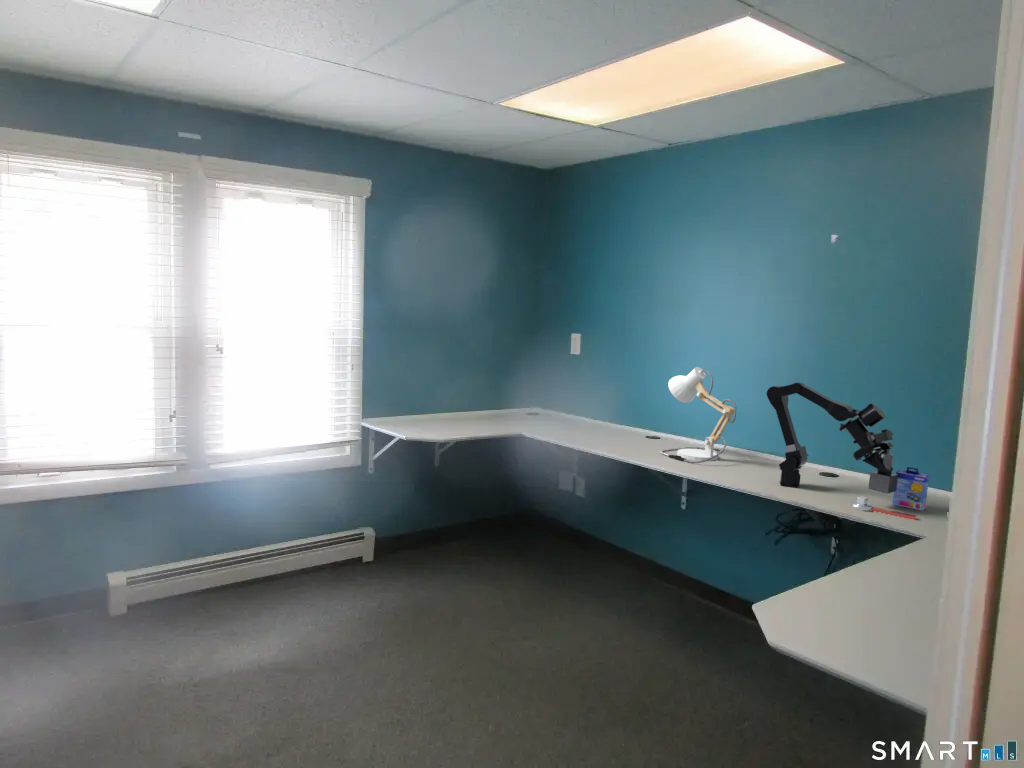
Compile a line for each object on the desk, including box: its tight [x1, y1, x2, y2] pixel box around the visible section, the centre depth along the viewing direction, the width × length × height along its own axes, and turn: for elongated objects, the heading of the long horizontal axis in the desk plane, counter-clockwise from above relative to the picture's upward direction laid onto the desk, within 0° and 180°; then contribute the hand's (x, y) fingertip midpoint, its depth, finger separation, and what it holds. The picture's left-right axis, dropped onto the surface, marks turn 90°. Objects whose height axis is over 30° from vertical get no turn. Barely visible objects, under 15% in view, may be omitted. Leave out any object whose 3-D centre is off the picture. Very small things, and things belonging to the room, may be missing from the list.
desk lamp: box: [659, 366, 737, 464], centre depth 309 cm, size 31×38×40 cm
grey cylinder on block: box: [868, 453, 898, 494], centre depth 241 cm, size 7×7×13 cm
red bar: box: [850, 495, 918, 521], centre depth 235 cm, size 20×9×4 cm, turn 38°
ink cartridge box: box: [891, 466, 930, 511], centre depth 244 cm, size 10×6×14 cm, turn 51°
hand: (888, 471), depth 240 cm, fingers closed on grey cylinder on block, 4 cm apart
